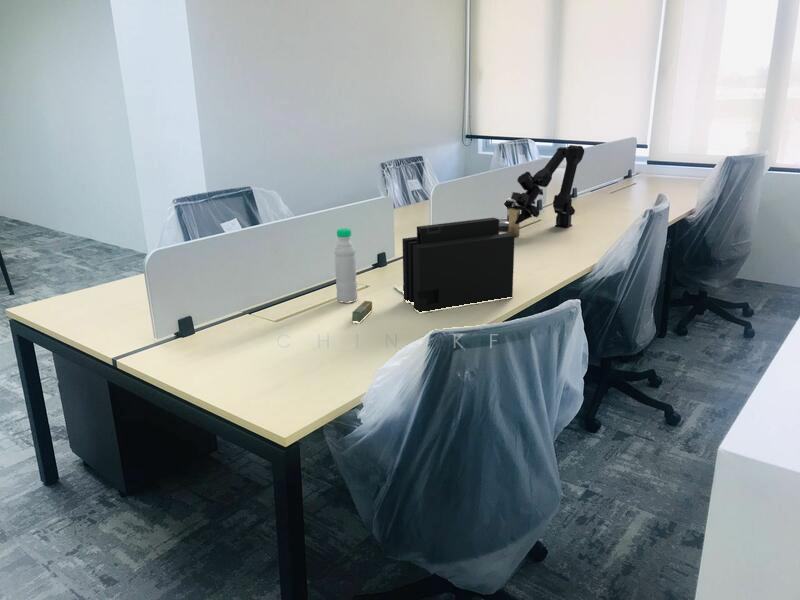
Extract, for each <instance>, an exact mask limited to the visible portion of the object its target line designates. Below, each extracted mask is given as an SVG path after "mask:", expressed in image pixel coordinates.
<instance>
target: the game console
mask: <svg viewBox="0 0 800 600" xmlns="http://www.w3.org/2000/svg"><path fill="white" fill-rule="evenodd" d="M499 219H500V218H497V217H486V218H479V219H470V220H462V221H454V222H453V221H452V222H445V223H435V224H429V225H418V226H416V236H413V237H403V238H402V274H403V275H402V278H403V282H402V283H403V284H402V285H403V291H404V295H403V300H404V299H405V300H407V301H408V300H409V301H410V302H414V306H413V309H414V308H415V309H416V310H418V311H419V312H422V311H430V310H435V309H441V308H446V307H452V306H459V305H464V304H470V303H477V302H482V301H488V300H494V299H501V298H507V297H512V298H513V296H514V294H513V291H514V289H513V287H514V265H515V260H514V259H515V236H514V235H511V234H508V233H507V232H506V233H500V232H499V231H500V230H499Z"/></svg>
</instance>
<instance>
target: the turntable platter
mask: <svg viewBox="0 0 800 600" xmlns="http://www.w3.org/2000/svg"><path fill="white" fill-rule="evenodd" d="M498 219H499V227H509V223H508V222H507V220H508V219H503V218H498Z"/></svg>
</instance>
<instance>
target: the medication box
mask: <svg viewBox="0 0 800 600" xmlns="http://www.w3.org/2000/svg"><path fill="white" fill-rule="evenodd" d="M371 310H372V311H373V302H372V301H370V300H364V301H363V302H362V303H361V304H360V305H358V306H357V308H356V309H354V310H353V311H352V312H351V313H352V316H351V317H352V321H358V322H360V321H361V320H362V319H363V318H364V317H365V316H366V315H367V314H368V313H369V312H370V311H371ZM352 321H351V322H352Z"/></svg>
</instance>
